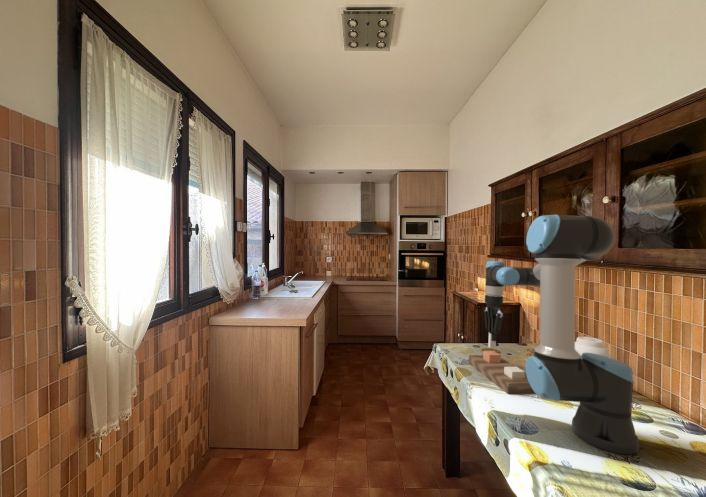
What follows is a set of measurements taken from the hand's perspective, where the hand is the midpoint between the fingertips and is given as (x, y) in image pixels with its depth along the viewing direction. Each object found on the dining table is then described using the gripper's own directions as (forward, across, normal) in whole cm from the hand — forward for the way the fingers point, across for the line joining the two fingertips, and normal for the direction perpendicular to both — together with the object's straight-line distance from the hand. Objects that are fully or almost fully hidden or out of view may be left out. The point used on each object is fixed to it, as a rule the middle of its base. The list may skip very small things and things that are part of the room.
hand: (492, 347), depth 139 cm
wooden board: (+10, -8, 0) cm, 13 cm away
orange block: (+7, 0, 0) cm, 7 cm away
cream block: (+8, -16, 0) cm, 18 cm away
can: (+10, -20, -29) cm, 37 cm away
